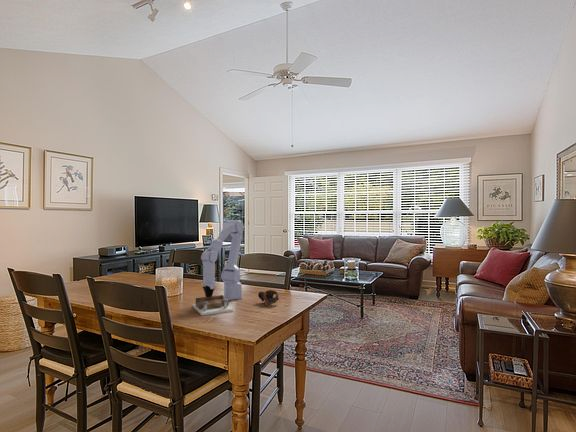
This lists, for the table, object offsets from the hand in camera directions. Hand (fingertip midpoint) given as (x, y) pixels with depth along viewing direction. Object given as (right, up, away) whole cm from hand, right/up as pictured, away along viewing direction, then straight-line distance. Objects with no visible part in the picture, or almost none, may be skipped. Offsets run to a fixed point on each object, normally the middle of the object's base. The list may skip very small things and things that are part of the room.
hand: (208, 300), depth 174 cm
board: (+3, -3, -6) cm, 7 cm away
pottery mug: (+30, -3, +5) cm, 31 cm away
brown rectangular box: (+3, -1, -5) cm, 6 cm away
